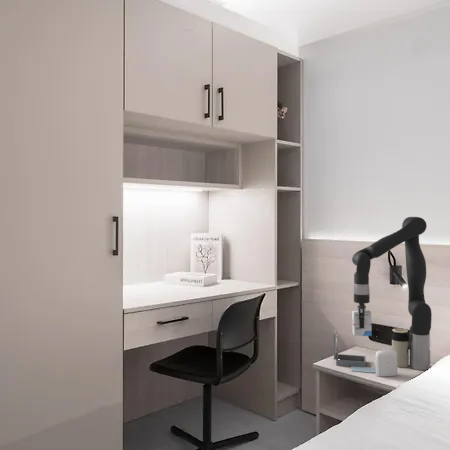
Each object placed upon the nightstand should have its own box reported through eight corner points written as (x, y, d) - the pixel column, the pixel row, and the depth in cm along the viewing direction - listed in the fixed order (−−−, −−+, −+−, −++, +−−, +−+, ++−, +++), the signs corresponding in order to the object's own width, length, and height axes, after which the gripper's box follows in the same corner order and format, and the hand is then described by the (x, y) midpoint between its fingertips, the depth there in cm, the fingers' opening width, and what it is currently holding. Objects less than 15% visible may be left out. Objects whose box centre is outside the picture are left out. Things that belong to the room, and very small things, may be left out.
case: (365, 360, 249) (365, 330, 248) (365, 367, 238) (365, 335, 237) (334, 358, 253) (334, 328, 252) (333, 365, 242) (333, 333, 242)
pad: (374, 368, 236) (374, 367, 236) (375, 373, 230) (375, 372, 230) (351, 366, 239) (351, 366, 239) (351, 371, 233) (351, 370, 233)
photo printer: (377, 377, 224) (377, 351, 224) (374, 374, 228) (374, 348, 228) (398, 376, 225) (398, 350, 225) (394, 373, 229) (394, 347, 229)
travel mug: (389, 365, 241) (389, 330, 240) (396, 361, 247) (396, 327, 246) (404, 369, 235) (404, 333, 235) (411, 365, 241) (411, 330, 240)
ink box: (369, 333, 237) (369, 309, 237) (371, 336, 233) (371, 312, 232) (352, 333, 239) (352, 309, 238) (353, 335, 234) (353, 312, 233)
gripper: (369, 295, 227) (369, 330, 227) (369, 290, 241) (370, 323, 241) (353, 295, 229) (353, 329, 230) (354, 290, 243) (354, 323, 243)
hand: (362, 326), depth 235 cm, fingers closed on ink box, 5 cm apart
